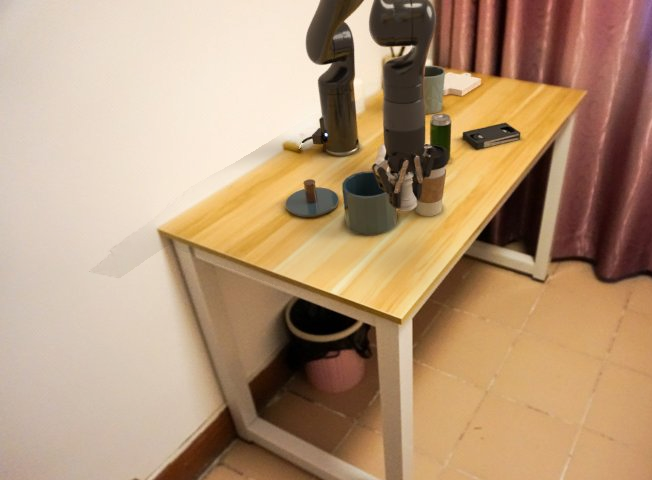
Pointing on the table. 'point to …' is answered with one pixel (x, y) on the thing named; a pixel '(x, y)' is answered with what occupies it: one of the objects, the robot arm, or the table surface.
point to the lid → (311, 200)
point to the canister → (367, 205)
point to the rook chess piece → (407, 193)
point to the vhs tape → (491, 135)
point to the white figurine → (381, 155)
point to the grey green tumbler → (433, 88)
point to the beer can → (441, 131)
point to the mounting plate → (459, 83)
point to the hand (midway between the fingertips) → (405, 202)
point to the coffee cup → (433, 185)
